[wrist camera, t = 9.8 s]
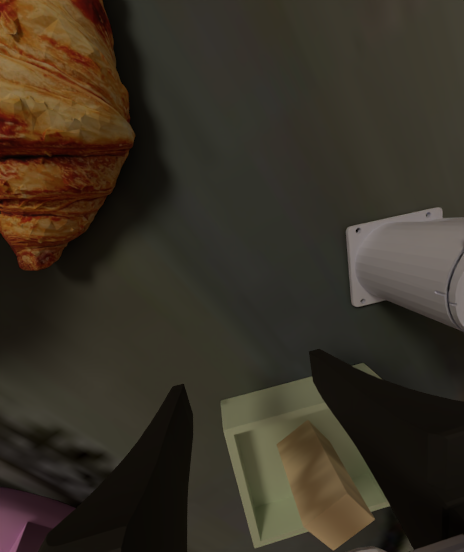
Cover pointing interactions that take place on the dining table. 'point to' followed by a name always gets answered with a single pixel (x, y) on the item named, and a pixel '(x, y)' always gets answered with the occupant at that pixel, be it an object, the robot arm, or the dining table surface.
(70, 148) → the croissant
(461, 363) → the dining table surface
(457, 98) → the dining table surface
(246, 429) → the sage bin
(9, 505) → the teakettle
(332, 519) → the oak block
